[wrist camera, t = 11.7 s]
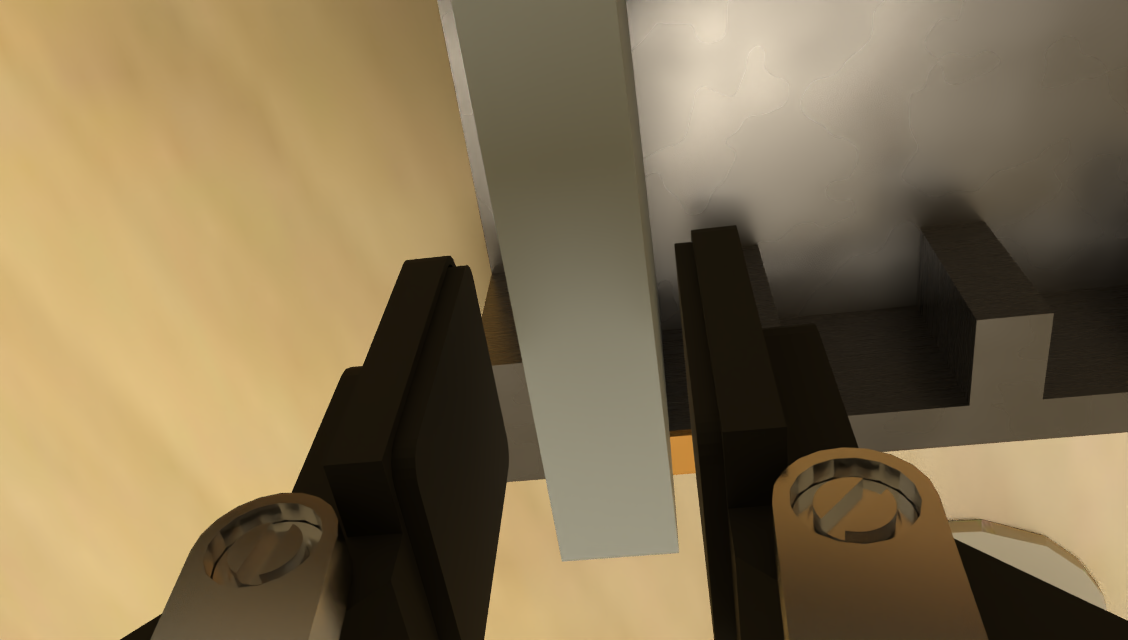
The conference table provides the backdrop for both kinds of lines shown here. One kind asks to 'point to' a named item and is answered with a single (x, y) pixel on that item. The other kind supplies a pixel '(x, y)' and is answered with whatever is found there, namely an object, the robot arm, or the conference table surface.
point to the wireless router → (1030, 556)
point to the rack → (884, 205)
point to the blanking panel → (577, 261)
